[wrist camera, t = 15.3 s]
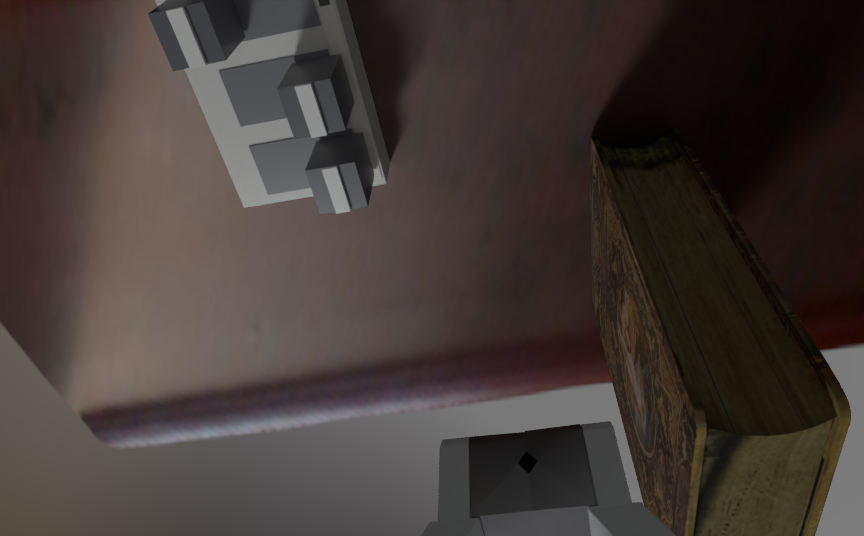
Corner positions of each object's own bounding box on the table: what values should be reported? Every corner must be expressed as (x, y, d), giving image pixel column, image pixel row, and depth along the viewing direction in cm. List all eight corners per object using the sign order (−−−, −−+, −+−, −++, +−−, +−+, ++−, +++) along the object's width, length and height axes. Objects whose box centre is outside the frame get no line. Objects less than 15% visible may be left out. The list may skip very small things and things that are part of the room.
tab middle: (340, 53, 39) (329, 80, 35) (354, 102, 40) (345, 132, 37) (291, 63, 39) (275, 90, 36) (307, 111, 41) (293, 141, 37)
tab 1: (225, -18, 37) (201, 3, 33) (245, 36, 38) (224, 62, 35) (174, -7, 37) (146, 15, 34) (196, 46, 39) (171, 72, 35)
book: (661, 309, 54) (785, 629, 33) (592, 316, 54) (672, 634, 34) (673, 119, 44) (856, 405, 24) (589, 129, 45) (698, 417, 25)
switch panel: (327, -71, 38) (317, -61, 35) (390, 162, 47) (386, 184, 44) (164, -34, 39) (144, -21, 37) (254, 186, 48) (243, 209, 45)
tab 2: (362, 132, 42) (353, 164, 38) (374, 174, 43) (367, 208, 40) (316, 140, 42) (304, 173, 39) (330, 182, 44) (319, 216, 40)
